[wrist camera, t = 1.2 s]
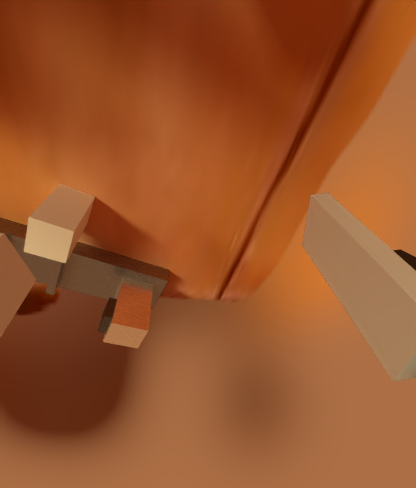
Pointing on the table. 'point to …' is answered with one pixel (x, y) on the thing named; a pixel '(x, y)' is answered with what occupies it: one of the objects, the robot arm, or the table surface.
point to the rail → (100, 283)
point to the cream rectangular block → (58, 223)
